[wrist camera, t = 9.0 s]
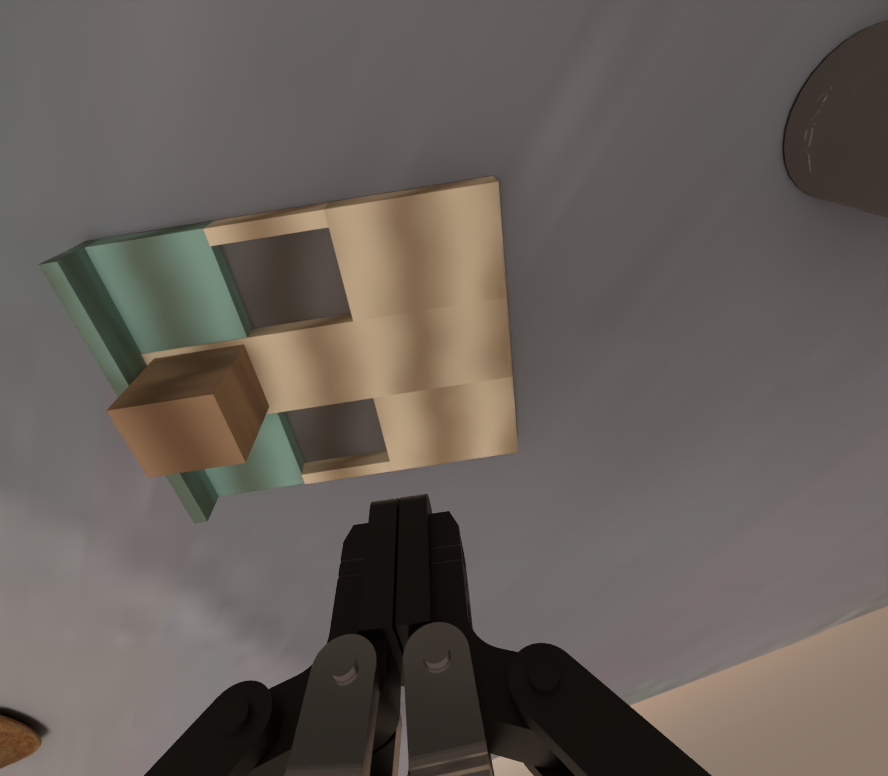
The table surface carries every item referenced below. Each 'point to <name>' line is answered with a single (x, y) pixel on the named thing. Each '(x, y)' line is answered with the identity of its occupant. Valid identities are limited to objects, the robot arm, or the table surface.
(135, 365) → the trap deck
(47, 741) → the table surface
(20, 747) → the brown top hat
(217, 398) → the walnut block
